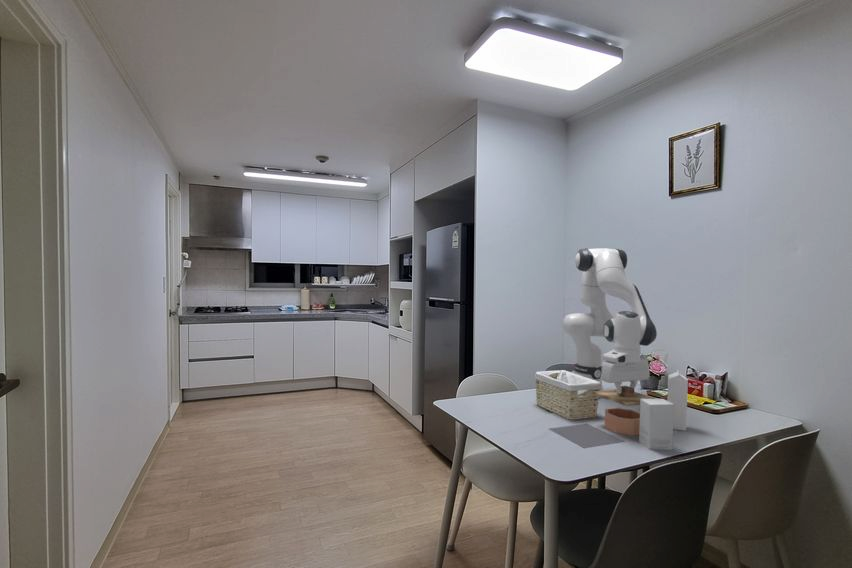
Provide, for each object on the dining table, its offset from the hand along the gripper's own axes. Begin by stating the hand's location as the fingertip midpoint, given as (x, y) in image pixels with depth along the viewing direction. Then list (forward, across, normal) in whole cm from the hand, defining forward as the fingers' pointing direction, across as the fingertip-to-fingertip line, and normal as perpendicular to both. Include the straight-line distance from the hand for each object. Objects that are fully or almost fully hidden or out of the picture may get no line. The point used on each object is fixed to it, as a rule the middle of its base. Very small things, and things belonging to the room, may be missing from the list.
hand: (625, 393), depth 154 cm
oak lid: (+2, 0, 0) cm, 2 cm away
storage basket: (+14, +6, -24) cm, 29 cm away
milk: (+14, -22, +4) cm, 26 cm away
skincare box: (+14, +3, +16) cm, 21 cm away
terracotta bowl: (+14, 0, 0) cm, 14 cm away
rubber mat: (+14, +19, +1) cm, 23 cm away
